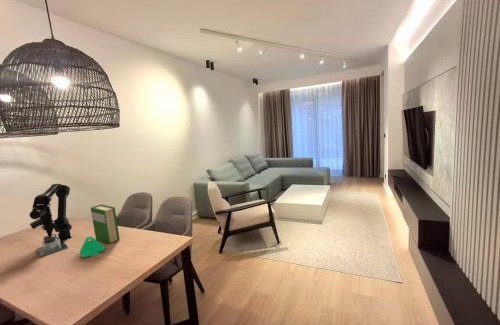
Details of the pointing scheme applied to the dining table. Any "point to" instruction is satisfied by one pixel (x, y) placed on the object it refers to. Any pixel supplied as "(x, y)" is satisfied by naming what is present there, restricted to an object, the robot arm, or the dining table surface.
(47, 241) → the dark grey rounded lump
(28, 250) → the dining table surface
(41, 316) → the dining table surface
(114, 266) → the dining table surface
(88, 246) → the camera mount
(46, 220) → the robot arm
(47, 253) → the square base plate
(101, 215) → the hardback book
